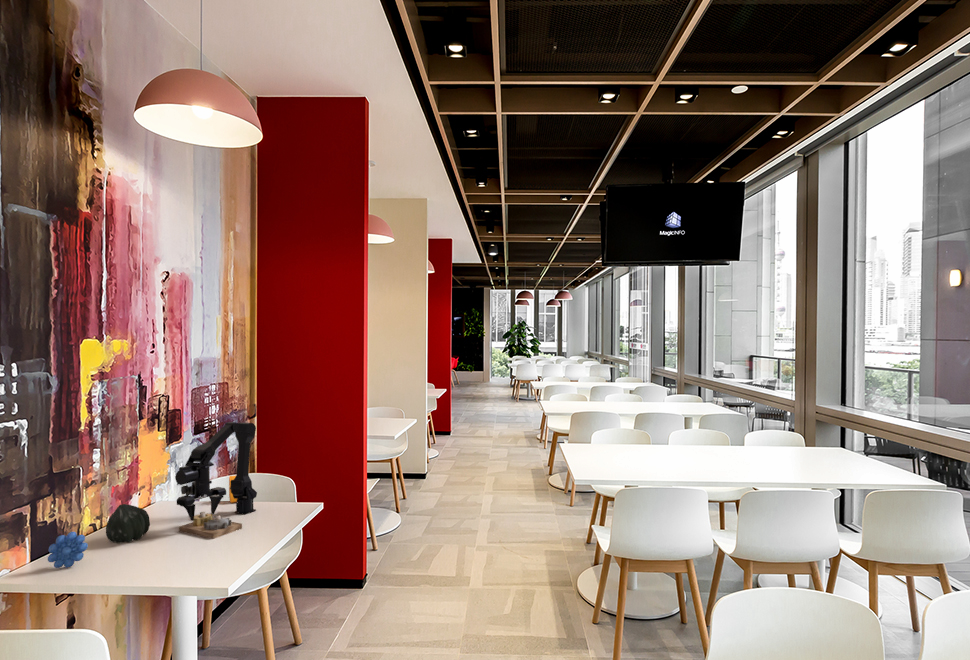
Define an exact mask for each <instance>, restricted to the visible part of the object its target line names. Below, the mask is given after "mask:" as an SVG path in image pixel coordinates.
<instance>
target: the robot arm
mask: <svg viewBox="0 0 970 660" xmlns="http://www.w3.org/2000/svg"><path fill="white" fill-rule="evenodd" d="M256 429H257V426H256V425H255V423H253V422H245V421H243V422H235V421H233V422H232V421H228V422H226V423H225V424H224V425H223V426H222V427H221V428H220V429H219V430H218V431H217V432H216V433H215V434H213V436H212V437H211V438H209V439H208V440H207V441H206V442H205V443H202V444H199V445H198V446H197V447H194V448H193V449H192V450H191V451H190V455H189V458H188V459H187V461H186V463H185V464H184V466H180V467H178V471H176V474H175V475H174V477H175V478H174V479H175V482H176V483H177V484H178V485H180V486H181V487H180V491H181V494H182V495H183V496H180V497H178V498H177V499H176V505H177V506H180V507H183V508H184V509H185V510H186V512H187V514H188V518H189V519H190V521H192V522H193V520H194V516H195V512H196V504H195V502H196V501H199V500H202V499H205V498H209V500H210V514H212V515H214V514H215V513H216V510H217V508H218V506H219V504H220V502H221V501H222V499H223V498H224V497H225V496H226V495H227V489H226V488H225V487H220V486H215V487H211V484H212V483H213V480H211V479H210V476H211V475H210V474H211V473H210V469H211V468H210V467H213V466H214V465H215V464H214V463H213V462H211V460H212V459H213V458H214V456H215V454H216V450H217V449H218V448H219V447H221V445H222V444H223V443H225V441H227V440H228V439H229V437H230V436H232V435H233V434H235V435H234V436H235V438H236V440H237V443H238V445H237V448H238V449H237V460H236V461H237V462H236V475H235V476H236V477H235V478H234V480H231V487H230V489H231V493H232V494H233V497H234V499H237V502H235V506H236V509H235V510H236V511H234V514H238V515H239V514H240V515H246V514H250V513H253V512H256V511H257V509H256V508H254V499H256V498H257V495H258V492H257V491H256V489H254V488H253V483H252V480H251V478H250V475H249V471H250V459H251V458H250V456H251V455H250V453H251V442H252V441H253V439H254V438H255V435H256V431H257V430H256ZM190 483H191V485H189V486H188V485H187V484H190Z"/></svg>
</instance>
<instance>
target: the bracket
mask: <svg viewBox="0 0 970 660" xmlns="http://www.w3.org/2000/svg"><path fill="white" fill-rule="evenodd" d="M235 477H236V475H229V477H228V479H229V480H228V486H229V487H228V496H229V497H228V499H229V502H230V504H233V503H237V499H234V497H233V494H232V493H231V489H230V487H231V480H234V478H235Z"/></svg>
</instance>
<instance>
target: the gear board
mask: <svg viewBox="0 0 970 660" xmlns="http://www.w3.org/2000/svg"><path fill="white" fill-rule="evenodd" d="M205 514H206V511H200V512H199V515H200V517H205ZM239 529H240V530H242V529H243V523H241V522H235V521H232V519H230V517H227V518H222V517H221V515H216V516H214V517H212V520H209V521H208V522H205V523H204V526H193V521H192V522H190V523H186V524H183V525H180V526H179V529H178V530H179V532H181V533H185V534H189V535H194V536H198V537H203V538H207V539H212V540H213V539H217V538H220V537H223V536H224V535H229V534H231V533H233V532H236V530H237V531H240V530H239Z"/></svg>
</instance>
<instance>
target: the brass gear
mask: <svg viewBox="0 0 970 660" xmlns="http://www.w3.org/2000/svg"><path fill="white" fill-rule="evenodd" d="M212 518H213V514H211V513H205V517H200V514H196V515H194V520H193V521H192V522H193V526H204V523H205V522H208V521H209V520H212Z"/></svg>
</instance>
